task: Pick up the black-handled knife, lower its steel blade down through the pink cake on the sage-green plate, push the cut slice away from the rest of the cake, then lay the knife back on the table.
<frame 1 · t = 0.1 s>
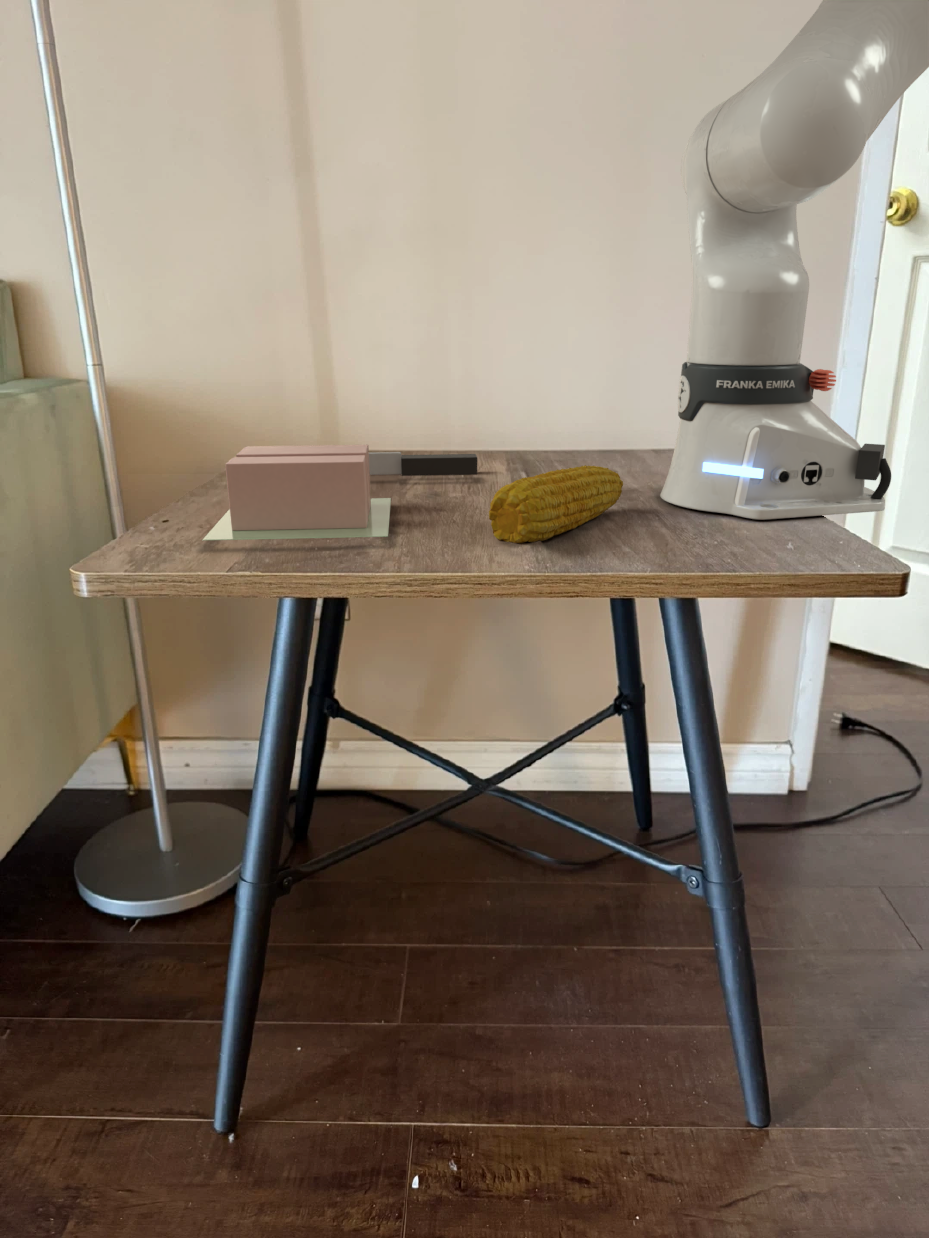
cake slice: (301, 525, 79), point 1 cm above the table, touching cake plate
cake: (308, 511, 84), resting on cake plate
food: (560, 531, 81), on the table
cake plate: (306, 527, 82), on the table
knife: (401, 481, 103), on the table
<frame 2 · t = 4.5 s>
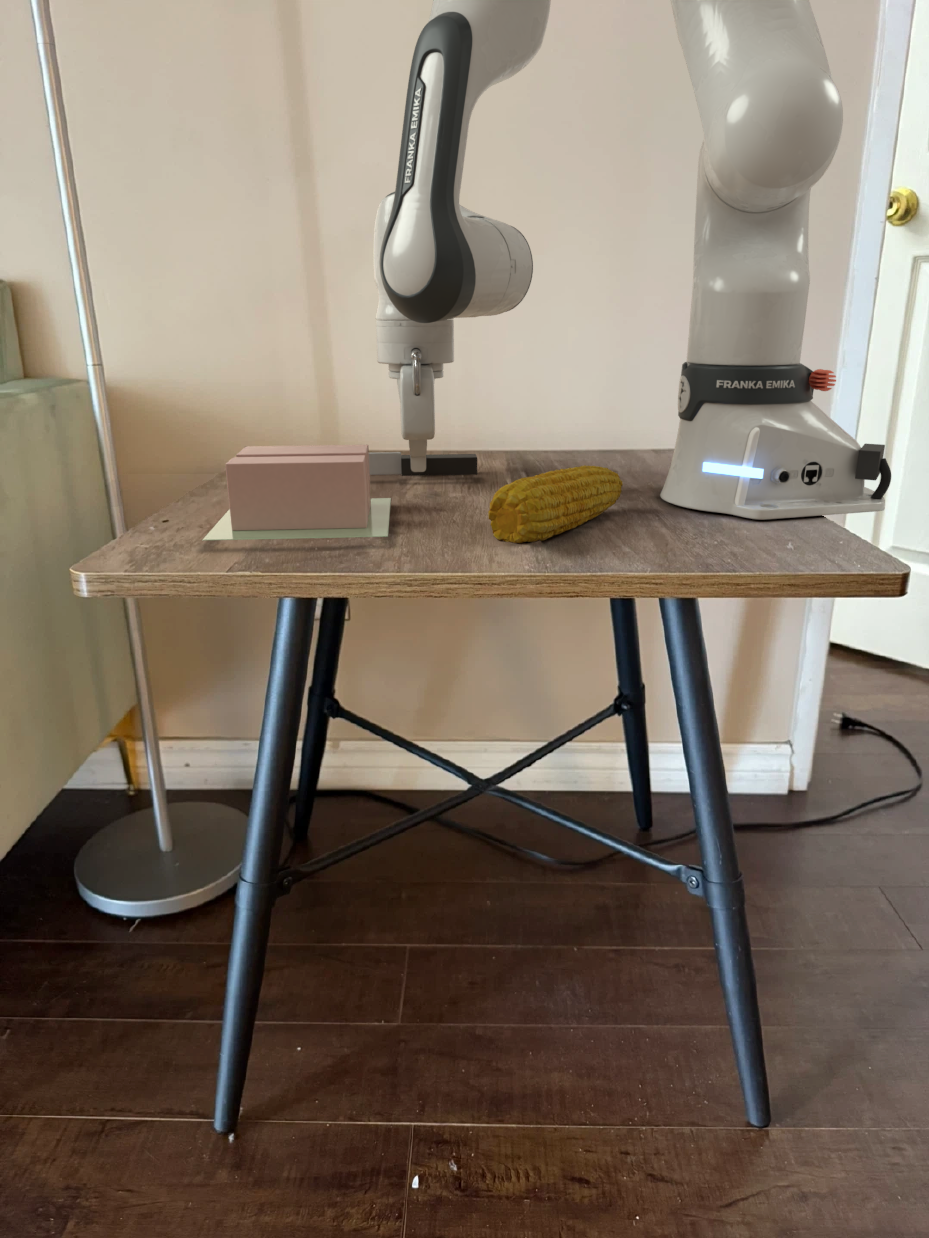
hand: (418, 468, 103), 2 cm above the table, tool pointing down, fingers closed on knife, 2 cm apart
knife: (401, 481, 103), on the table, touching gripper
everything else where it was.
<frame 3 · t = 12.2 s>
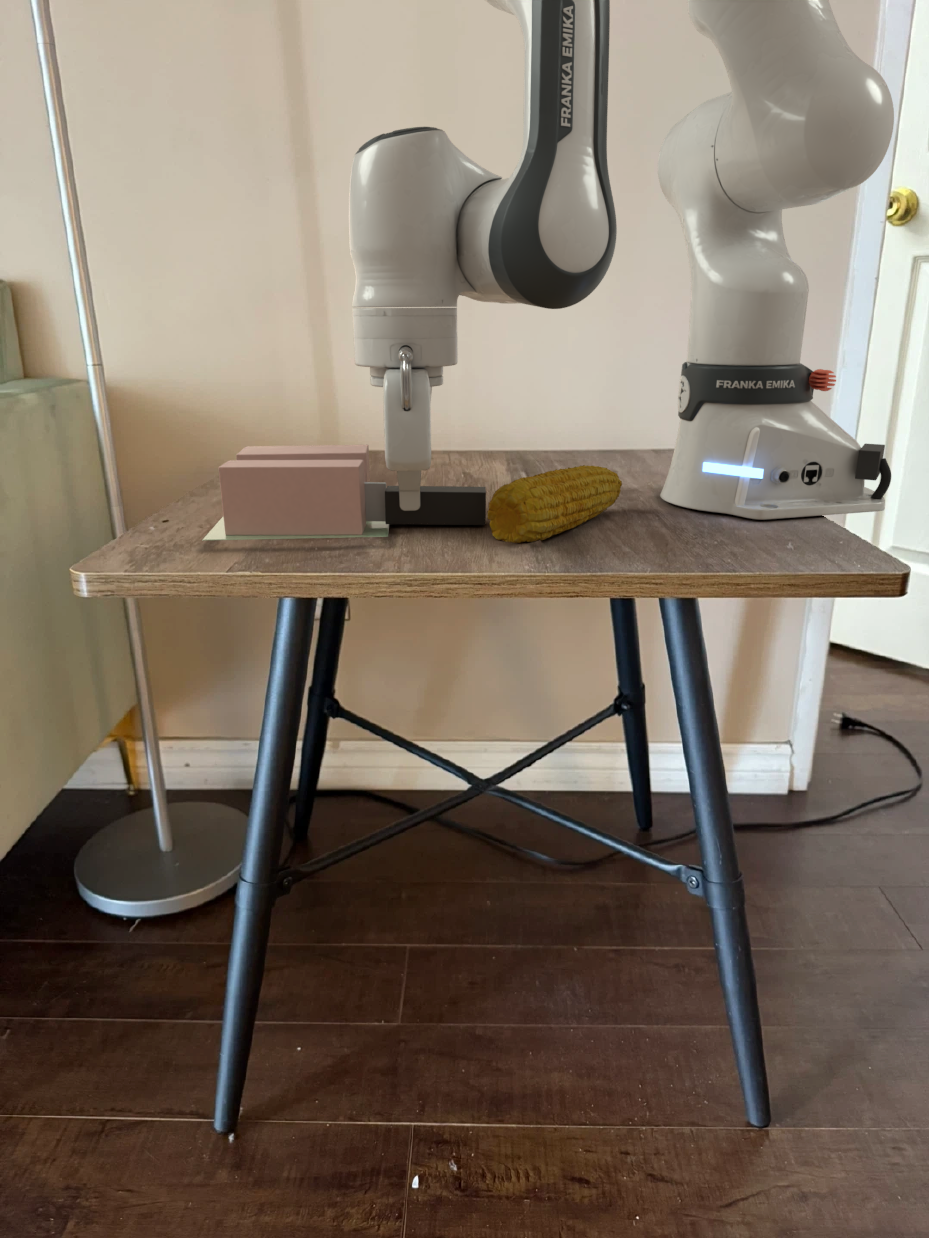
hand: (410, 504, 78), 3 cm above the table, tool pointing down, fingers closed on knife, 3 cm apart
cake slice: (297, 530, 77), point 1 cm above the table, touching cake plate, knife
knife: (386, 521, 79), point 1 cm above the table, touching cake slice, gripper
everything else where it was.
when the fingers open (1 cm above the table, at t = 19.1 s): knife stays where it is, on the table.
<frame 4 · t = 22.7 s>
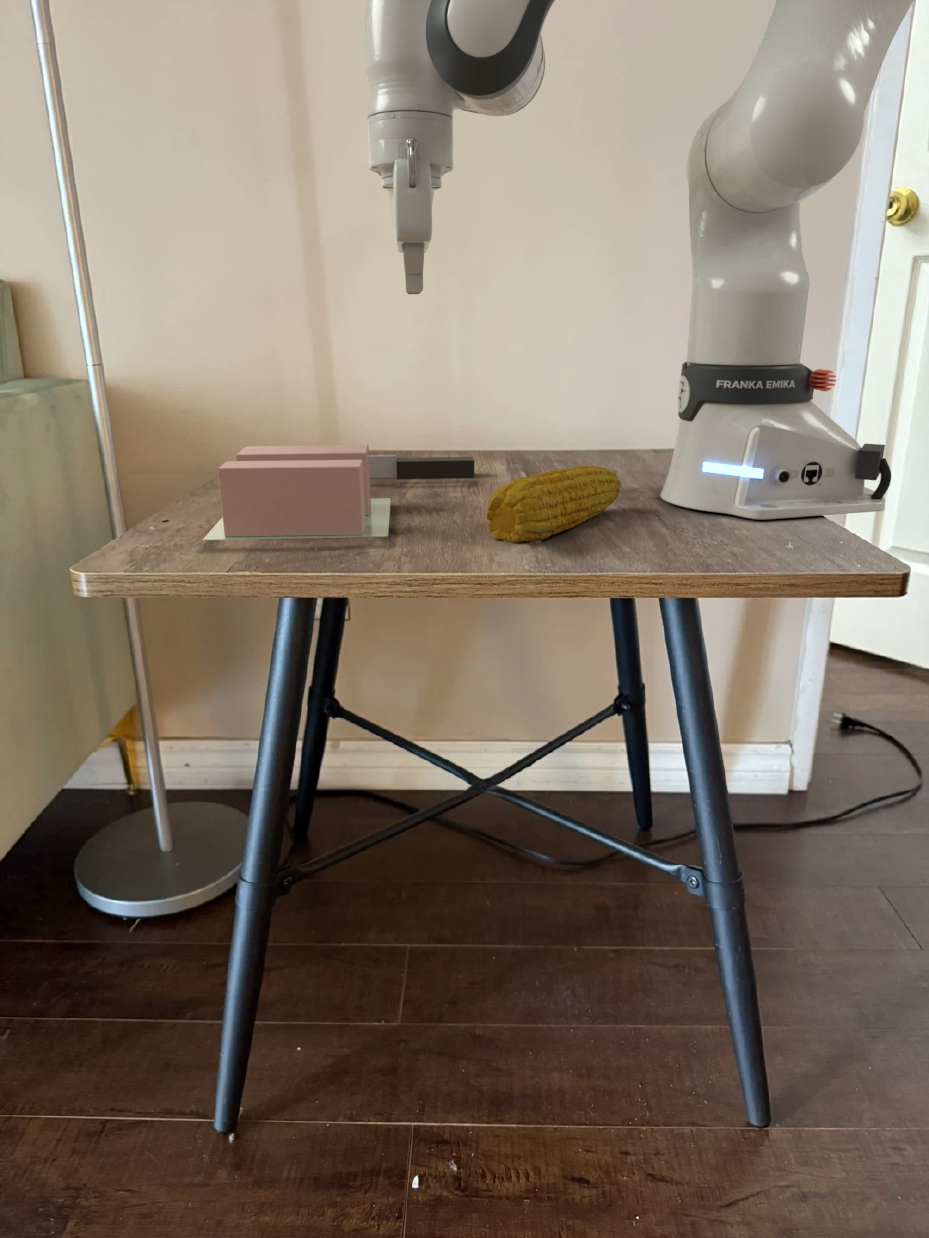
hand: (414, 293, 94), 21 cm above the table, tool pointing down, fingers open, 8 cm apart
cake slice: (296, 531, 77), point 1 cm above the table, touching cake plate
knife: (397, 485, 101), on the table
everything else where it was.
at the end: cake slice moved 2.3 cm from its start; cake slice tilted 0°; knife inside the target area (0.5 cm from its centre), on the table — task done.
